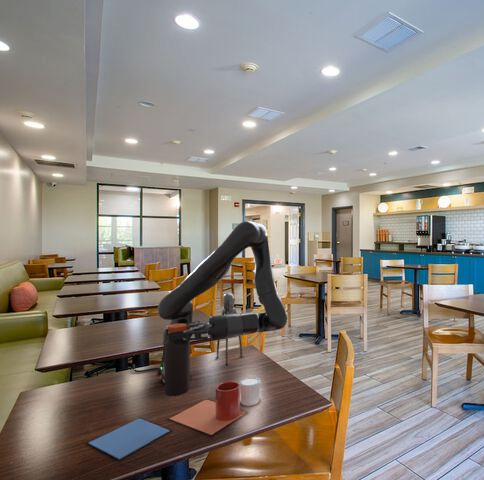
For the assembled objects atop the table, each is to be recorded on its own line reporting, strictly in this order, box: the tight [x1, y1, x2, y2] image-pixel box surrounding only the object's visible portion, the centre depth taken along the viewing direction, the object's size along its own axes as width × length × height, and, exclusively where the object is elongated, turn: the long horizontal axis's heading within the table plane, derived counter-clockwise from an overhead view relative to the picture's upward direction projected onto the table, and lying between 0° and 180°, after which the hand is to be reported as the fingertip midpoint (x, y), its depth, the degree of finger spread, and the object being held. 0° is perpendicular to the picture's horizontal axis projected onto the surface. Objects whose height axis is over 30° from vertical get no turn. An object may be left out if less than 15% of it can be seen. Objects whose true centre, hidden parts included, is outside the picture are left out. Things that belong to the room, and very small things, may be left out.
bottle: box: [164, 323, 191, 397], centre depth 104 cm, size 7×7×20 cm
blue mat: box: [87, 417, 171, 461], centre depth 95 cm, size 14×14×1 cm
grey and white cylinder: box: [239, 377, 262, 407], centre depth 116 cm, size 7×7×7 cm
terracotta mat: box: [168, 399, 247, 436], centre depth 107 cm, size 18×14×1 cm
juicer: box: [216, 292, 243, 366], centre depth 155 cm, size 10×11×30 cm
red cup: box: [215, 380, 241, 421], centre depth 107 cm, size 7×7×9 cm
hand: (167, 334), depth 102 cm, fingers closed on bottle, 5 cm apart
